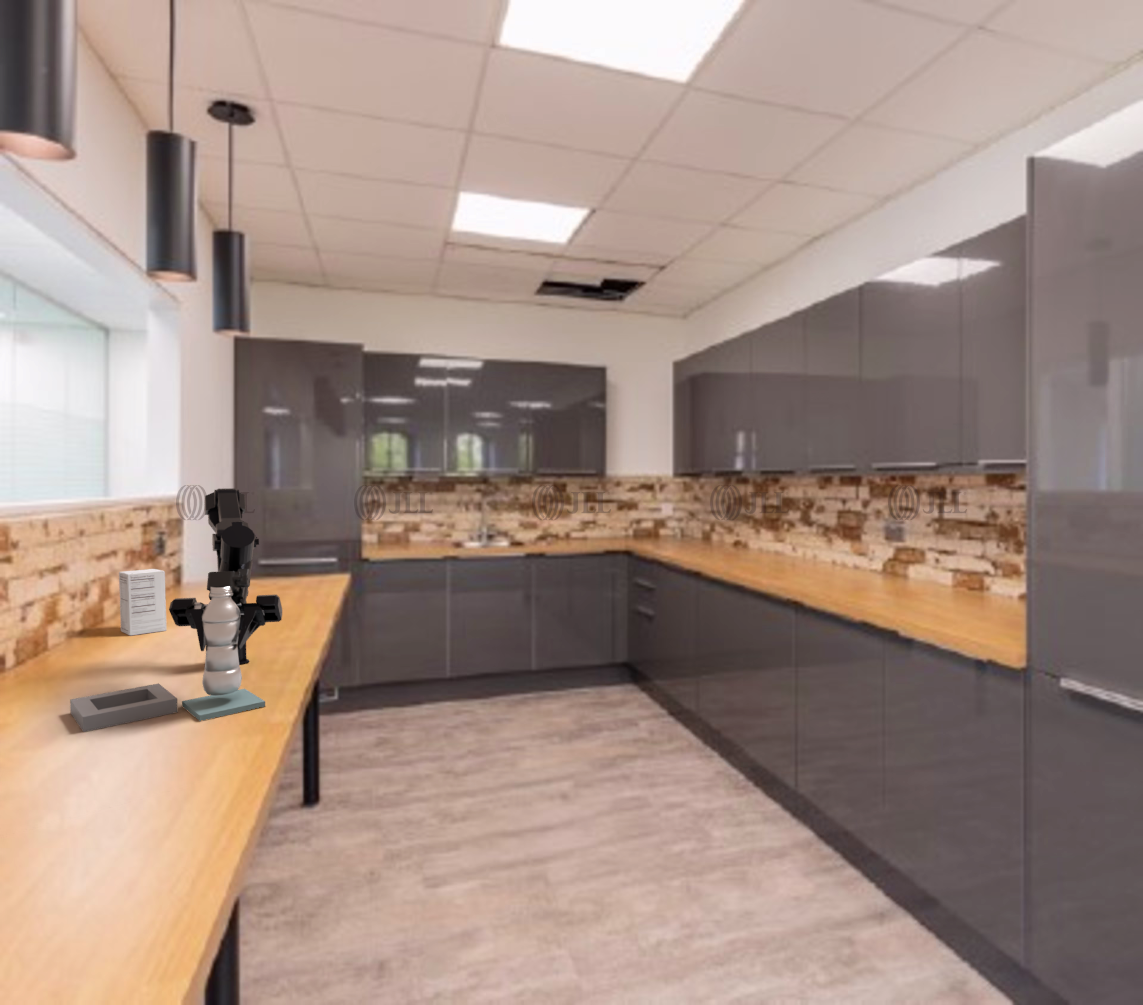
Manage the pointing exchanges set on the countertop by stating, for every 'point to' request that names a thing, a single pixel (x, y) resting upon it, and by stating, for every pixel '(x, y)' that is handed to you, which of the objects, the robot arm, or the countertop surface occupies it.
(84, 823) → the countertop surface
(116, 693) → the pocket holder
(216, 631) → the plastic bottle
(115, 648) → the countertop surface
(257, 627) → the robot arm
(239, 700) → the coaster
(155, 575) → the supplement box
